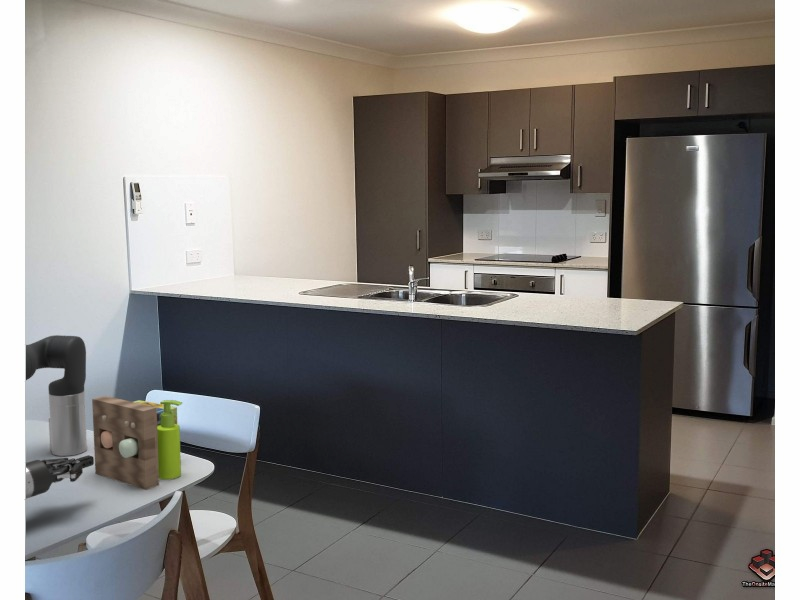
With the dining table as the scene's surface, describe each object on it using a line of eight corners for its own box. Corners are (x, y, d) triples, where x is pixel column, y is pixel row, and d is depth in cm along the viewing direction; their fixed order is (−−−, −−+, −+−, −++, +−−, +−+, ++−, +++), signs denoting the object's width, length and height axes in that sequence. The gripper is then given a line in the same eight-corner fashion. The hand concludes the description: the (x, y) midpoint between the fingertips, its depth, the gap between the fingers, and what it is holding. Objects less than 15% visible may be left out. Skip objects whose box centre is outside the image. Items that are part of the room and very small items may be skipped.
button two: (119, 456, 191) (118, 438, 190) (129, 452, 193) (128, 435, 192) (130, 459, 188) (130, 442, 188) (140, 456, 191) (140, 438, 190)
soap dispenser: (177, 480, 195) (175, 404, 193) (153, 478, 197) (150, 403, 194) (188, 472, 201) (186, 398, 199) (164, 470, 203) (162, 397, 200)
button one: (101, 446, 198) (100, 430, 197) (111, 443, 200) (110, 427, 200) (112, 449, 195) (111, 433, 195) (121, 446, 198) (121, 430, 197)
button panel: (94, 473, 200) (91, 399, 197) (108, 469, 203) (105, 395, 201) (145, 490, 189) (142, 411, 186) (159, 484, 193) (156, 407, 190)
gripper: (38, 471, 163) (108, 449, 177) (3, 459, 170) (73, 439, 184) (40, 505, 164) (110, 480, 178) (6, 492, 171) (75, 469, 185)
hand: (91, 459), depth 181 cm, fingers closed
